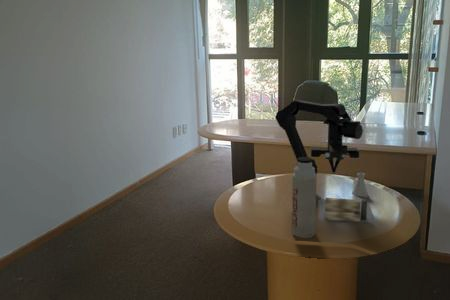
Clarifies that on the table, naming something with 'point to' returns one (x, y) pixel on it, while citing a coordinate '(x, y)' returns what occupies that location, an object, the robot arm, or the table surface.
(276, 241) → the table surface
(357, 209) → the beige flat block
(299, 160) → the thermos bottle
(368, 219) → the slate board
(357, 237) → the table surface
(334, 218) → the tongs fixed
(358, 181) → the flask
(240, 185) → the table surface
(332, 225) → the table surface
